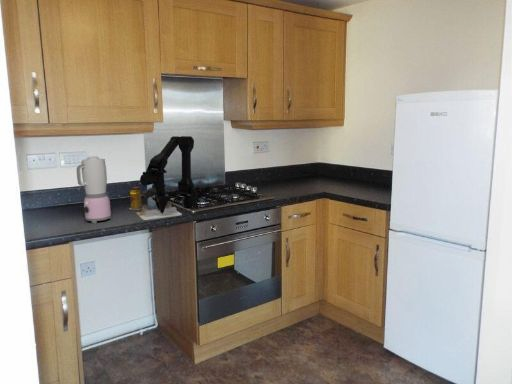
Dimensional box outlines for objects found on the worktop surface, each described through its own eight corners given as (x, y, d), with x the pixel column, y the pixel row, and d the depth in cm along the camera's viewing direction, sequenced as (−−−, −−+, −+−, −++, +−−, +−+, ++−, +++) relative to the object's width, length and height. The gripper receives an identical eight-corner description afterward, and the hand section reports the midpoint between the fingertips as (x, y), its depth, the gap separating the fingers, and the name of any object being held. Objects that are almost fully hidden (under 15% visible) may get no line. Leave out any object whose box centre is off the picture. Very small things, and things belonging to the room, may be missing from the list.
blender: (101, 216, 224) (96, 155, 218) (116, 219, 217) (111, 156, 211) (74, 222, 211) (67, 158, 205) (89, 226, 205) (83, 159, 198)
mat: (177, 212, 230) (177, 210, 230) (181, 215, 223) (181, 214, 223) (139, 216, 221) (139, 215, 221) (143, 220, 214) (143, 219, 214)
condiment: (127, 209, 239) (126, 188, 237) (137, 206, 247) (136, 185, 244) (138, 210, 236) (136, 188, 234) (147, 207, 244) (146, 186, 241)
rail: (174, 212, 227) (174, 206, 226) (176, 213, 224) (176, 207, 224) (144, 216, 220) (144, 210, 219) (146, 217, 217) (145, 211, 216)
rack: (173, 209, 236) (173, 201, 235) (176, 211, 231) (176, 203, 230) (136, 214, 227) (136, 205, 226) (139, 216, 221) (138, 207, 220)
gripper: (138, 181, 223) (140, 210, 226) (147, 186, 207) (149, 218, 210) (159, 179, 228) (161, 208, 231) (170, 184, 212) (171, 215, 215)
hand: (160, 212), depth 222 cm, fingers open, 5 cm apart
